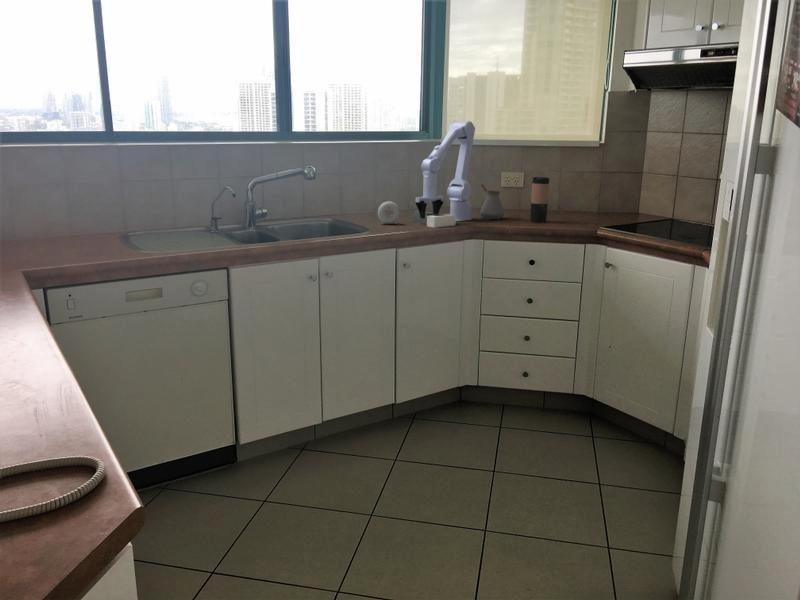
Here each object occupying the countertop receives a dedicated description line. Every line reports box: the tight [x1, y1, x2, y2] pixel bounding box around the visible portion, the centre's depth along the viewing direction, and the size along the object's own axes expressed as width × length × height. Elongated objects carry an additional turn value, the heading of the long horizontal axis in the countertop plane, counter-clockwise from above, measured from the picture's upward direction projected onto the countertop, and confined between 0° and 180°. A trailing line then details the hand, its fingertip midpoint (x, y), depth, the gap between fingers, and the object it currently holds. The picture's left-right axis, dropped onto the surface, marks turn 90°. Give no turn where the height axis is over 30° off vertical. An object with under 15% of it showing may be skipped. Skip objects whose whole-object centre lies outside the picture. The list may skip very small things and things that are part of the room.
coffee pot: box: [478, 183, 505, 220], centre depth 317 cm, size 21×12×15 cm, turn 14°
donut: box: [377, 200, 401, 225], centre depth 291 cm, size 10×4×10 cm, turn 105°
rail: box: [413, 210, 445, 225], centre depth 295 cm, size 4×16×5 cm, turn 40°
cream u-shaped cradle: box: [426, 213, 457, 229], centre depth 289 cm, size 12×5×4 cm, turn 129°
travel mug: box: [529, 176, 550, 224], centre depth 304 cm, size 8×8×20 cm
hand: (429, 217), depth 295 cm, fingers open, 7 cm apart
